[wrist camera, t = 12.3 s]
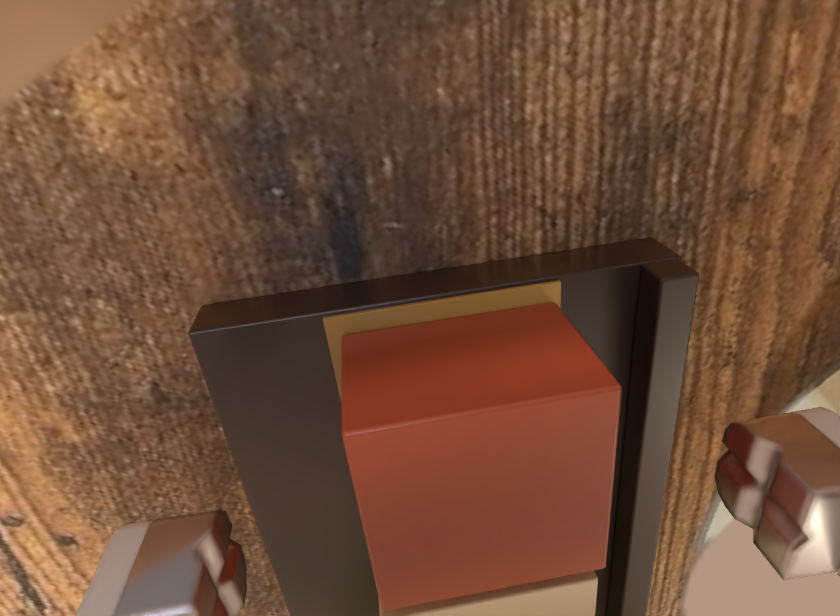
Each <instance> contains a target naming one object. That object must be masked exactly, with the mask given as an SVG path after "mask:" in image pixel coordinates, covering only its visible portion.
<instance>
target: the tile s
mask: <svg viewBox="0 0 840 616" xmlns="http://www.w3.org/2000/svg"><path fill="white" fill-rule="evenodd" d="M341 379H342V439H343V443H344V448H345V452H346V456H347V461H348V465H349V470H350V474H351V478H352V483H353V487H354V491H355V496H356V500H357V505H358V509H359V513H360V518H361V522H362V527H363V531H364V535H365V540H366V544H367V549H368V553H369V557H370V562H371V566H372V570H373V575H374V579H375V584H376V588H377V592H378V597H379V601H380V606H381V608H382V610H383V611H387V610H393V609H398V608H403V607H408V606H413V605H418V604H424V603H429V602H434V601H439V600H444V599H449V598H454V597H460V596H465V595H470V594H475V593H480V592H485V591H491V590H496V589H501V588H506V587H511V586H516V585H522V584H527V583H532V582H537V581H542V580H547V579H553V578H558V577H563V576H568V575H573V574H578V573H584V572H589V571H594V570H599V569H603V568H605V567H606V556H607V545H608V534H609V523H610V512H611V501H612V490H613V479H614V468H615V457H616V446H617V434H618V423H619V412H620V401H621V390H622V389H621V386H620V384H619V383H618V381H617V380H616V379H615V378H614V376H613V375H612V374H611V373H610V371H609V370H608V369H607V367H606V366H605V365H604V364H603V362H602V361H601V360H600V359H599V357H598V356H597V355H596V354H595V352H594V351H593V350H592V348H591V347H590V346H589V345H588V343H587V342H586V341H585V340H584V338H583V337H582V336H581V335H580V333H579V332H578V331H577V329H576V328H575V327H574V326H573V324H572V323H571V322H570V321H569V319H568V318H567V317H566V316H565V314H564V313H563V312H562V310H561V309H560V308H559V307H558V305H557V304H556V303H554V302H550V303H544V304H538V305H531V306H525V307H519V308H512V309H506V310H500V311H493V312H487V313H481V314H474V315H468V316H462V317H455V318H449V319H443V320H437V321H430V322H424V323H418V324H411V325H405V326H399V327H392V328H386V329H380V330H373V331H367V332H361V333H354V334H348V335H344V336H342V339H341Z"/></svg>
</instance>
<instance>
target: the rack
mask: <svg viewBox="0 0 840 616" xmlns="http://www.w3.org/2000/svg"><path fill="white" fill-rule="evenodd" d="M698 279H699V274H698V272H696V271H695V270H693V269H692V268H690V267H689V266H687V265H686V264H684V263H683V262H681V257H680V256H679V255H677V254H676V253H674V252H673V251H671V250H670V249H668V248H667V247H665V246H664V245H662V244H661V243H659V242H658V241H656V240H655V239H653V238H646V239H640V240H633V241H627V242H620V243H613V244H607V245H600V246H594V247H587V248H580V249H574V250H567V251H561V252H554V253H547V254H541V255H534V256H527V257H521V258H514V259H508V260H501V261H494V262H488V263H481V264H475V265H468V266H461V267H455V268H448V269H442V270H435V271H428V272H422V273H415V274H408V275H402V276H395V277H389V278H382V279H375V280H369V281H362V282H356V283H349V284H342V285H336V286H329V287H323V288H316V289H309V290H303V291H296V292H290V293H283V294H276V295H270V296H263V297H256V298H250V299H243V300H237V301H230V302H223V303H217V304H210V305H204V306H202V307H201V309H200V311H199V313H198V315H197V317H196V319H195V321H194V323H193V325H192V327H191V329H190V330H189V333H188V334H189V337H190V340H191V343H192V345H193V348H194V351H195V354H196V356H197V359H198V362H199V365H200V368H201V370H202V373H203V376H204V379H205V381H206V384H207V387H208V390H209V392H210V395H211V398H212V401H213V403H214V406H215V409H216V412H217V415H218V417H219V420H220V423H221V426H222V428H223V431H224V434H225V437H226V439H227V442H228V445H229V448H230V450H231V453H232V456H233V459H234V462H235V464H236V467H237V470H238V473H239V475H240V478H241V481H242V484H243V486H244V489H245V492H246V495H247V498H248V500H249V503H250V506H251V509H252V511H253V514H254V517H255V520H256V522H257V525H258V528H259V531H260V533H261V536H262V539H263V542H264V545H265V547H266V550H267V553H268V556H269V558H270V561H271V564H272V567H273V569H274V572H275V575H276V578H277V580H278V583H279V586H280V589H281V592H282V594H283V597H284V600H285V603H286V605H287V608H288V611H289V614H290V616H646V612H647V605H648V599H649V593H650V586H651V580H652V573H653V567H654V561H655V554H656V548H657V541H658V535H659V529H660V522H661V516H662V509H663V503H664V497H665V490H666V484H667V477H668V471H669V465H670V458H671V452H672V445H673V439H674V432H675V426H676V420H677V413H678V407H679V400H680V394H681V388H682V381H683V375H684V368H685V362H686V356H687V349H688V343H689V336H690V330H691V324H692V317H693V311H694V304H695V298H696V292H697V285H698ZM550 302H554V303H556V304H557V305H558V307H559V308H560V309H561V310H562V312H563V313H564V314H565V316H566V317H567V318H568V319H569V321H570V322H571V323H572V324H573V326H574V327H575V328H576V329H577V331H578V332H579V333H580V335H581V336H582V337H583V338H584V340H585V341H586V342H587V343H588V345H589V346H590V347H591V348H592V350H593V351H594V352H595V354H596V355H597V356H598V357H599V359H600V360H601V361H602V362H603V364H604V365H605V366H606V367H607V369H608V370H609V371H610V373H611V374H612V375H613V376H614V378H615V379H616V380H617V381H618V383H619V384H620V386H621V389H622V390H621V401H620V412H619V423H618V434H617V446H616V457H615V468H614V479H613V490H612V501H611V512H610V523H609V534H608V545H607V556H606V567H605V568H603V569H599V570H594V571H589V572H584V573H578V574H573V575H568V576H563V577H558V578H553V579H547V580H542V581H537V582H532V583H527V584H522V585H516V586H511V587H506V588H501V589H496V590H491V591H485V592H480V593H475V594H470V595H465V596H460V597H454V598H449V599H444V600H439V601H434V602H429V603H424V604H418V605H413V606H408V607H403V608H398V609H393V610H387V611H383V610H382V608H381V606H380V601H379V597H378V592H377V588H376V584H375V579H374V575H373V570H372V566H371V562H370V557H369V553H368V549H367V544H366V540H365V535H364V531H363V527H362V522H361V518H360V513H359V509H358V505H357V500H356V496H355V491H354V487H353V483H352V478H351V474H350V470H349V465H348V461H347V456H346V452H345V448H344V443H343V439H342V379H341V339H342V336H344V335H348V334H354V333H361V332H367V331H373V330H380V329H386V328H392V327H399V326H405V325H411V324H418V323H424V322H430V321H437V320H443V319H449V318H455V317H462V316H468V315H474V314H481V313H487V312H493V311H500V310H506V309H512V308H519V307H525V306H531V305H538V304H544V303H550Z"/></svg>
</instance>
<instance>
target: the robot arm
mask: <svg viewBox="0 0 840 616" xmlns="http://www.w3.org/2000/svg"><path fill="white" fill-rule="evenodd" d="M722 442H723V443H724V444H725V446H726V447H727V448H728V451H727V452H726V453H725V454H724V455H723V456H722V457H721V458H720V459H719V460H718V461H717V466H716V472H715V480H716V485H717V489H718V493H719V495H720V497H721V499H722V501H723V503H724V505H725V507H726V508H727V509H728V511H729V512H730V513H731V515H732V516H733V517H734V518H735V519H736V520H738V521H740V522H742V523H743V524H745V525H747V526H749V527H751V528H753V543H754V544H755V545H756V546H757V548H758V549H759V550H760V551H761V553H762V554H763V555H764V556H765V557H766V559H767V560H768V561H769V562H770V564H771V565H772V566H773V568H774V569H775V570H776V571H777V573H778V574H779V575H780V576H781V578H782V579H783V580H788V579H794V578H800V577H807V576H813V575H819V574H825V573H832V572H838V571H839V572H838V575H839V576H840V417H839V416H838V415H837V414H836V413H834V412H833V411H831V410H828V409H825V408H823V407H818V408H812V409H807V410H801V411H795V412H791V413H783V414H778V415H772V416H767V417H761V418H756V419H750V420H745V421H739V422H734V423H731V424H730V425H729V426H728V427H727V428H726V429H725V432H724V436H723V440H722ZM231 529H232V524H231V522H230V519H229V517H228V515H227V513H226V511H222V510H218V511H211V512H204V513H197V514H190V515H183V516H177V517H170V518H163V519H156V520H153V521H146V522H139V523H132V524H125V525H121V526H120V527H119V528H118V529H117V530H116V531H115V532H114V533H113V534H112V536H111V538H110V540H109V543H108V545H107V547H106V549H105V551H104V554H103V556H102V558H101V560H100V563H99V565H98V567H97V569H96V571H95V574H94V576H93V578H92V580H91V583H90V585H89V587H88V589H87V591H86V594H85V596H84V598H83V600H82V602H81V605H80V607H79V609H78V611H77V614H76V616H238V615H239V614H240V612H241V611H242V610H243V608H244V603H245V596H246V590H247V584H246V564H245V559H244V554H243V552H242V549H241V546H240V544H238V543H236V542H234V541H233V540H231V539H229V538H230V534H231Z"/></svg>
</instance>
